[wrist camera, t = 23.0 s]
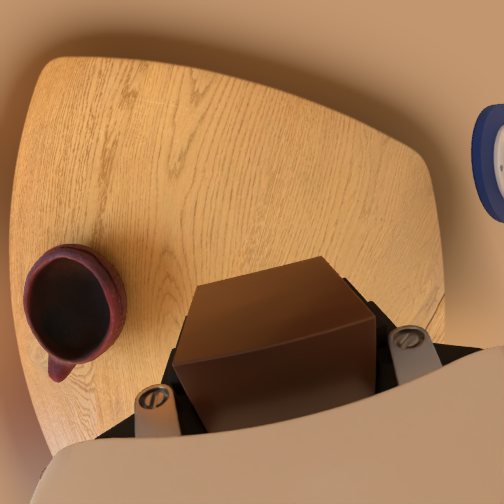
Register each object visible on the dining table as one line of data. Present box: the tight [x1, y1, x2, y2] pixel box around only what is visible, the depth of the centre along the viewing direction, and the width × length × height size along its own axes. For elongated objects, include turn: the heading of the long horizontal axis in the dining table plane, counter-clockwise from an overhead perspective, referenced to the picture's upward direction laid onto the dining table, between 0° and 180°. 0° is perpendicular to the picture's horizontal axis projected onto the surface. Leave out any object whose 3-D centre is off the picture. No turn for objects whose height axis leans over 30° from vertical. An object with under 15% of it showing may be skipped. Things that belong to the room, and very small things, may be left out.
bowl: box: [23, 244, 127, 383], centre depth 28 cm, size 16×13×8 cm
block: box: [172, 256, 376, 433], centre depth 9 cm, size 5×5×5 cm
